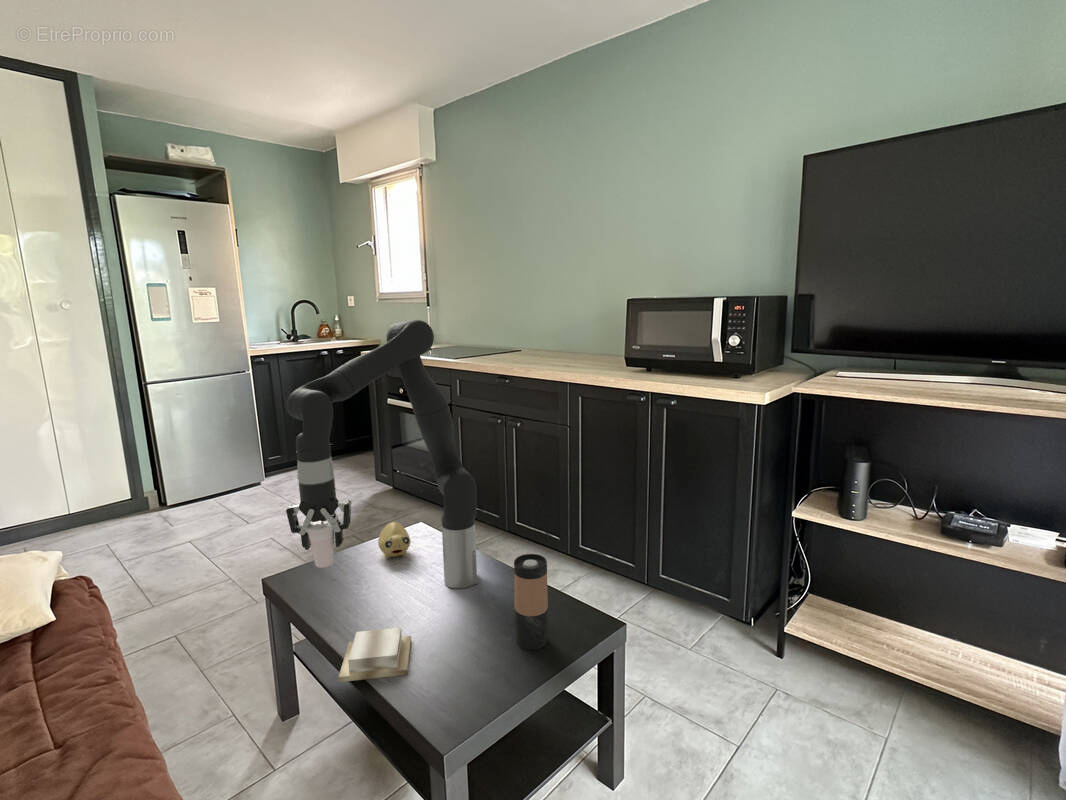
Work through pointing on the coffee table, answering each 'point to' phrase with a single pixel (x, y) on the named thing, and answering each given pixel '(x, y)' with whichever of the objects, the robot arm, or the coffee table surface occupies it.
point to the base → (378, 672)
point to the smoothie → (321, 542)
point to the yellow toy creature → (394, 540)
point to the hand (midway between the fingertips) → (323, 546)
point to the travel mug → (531, 601)
